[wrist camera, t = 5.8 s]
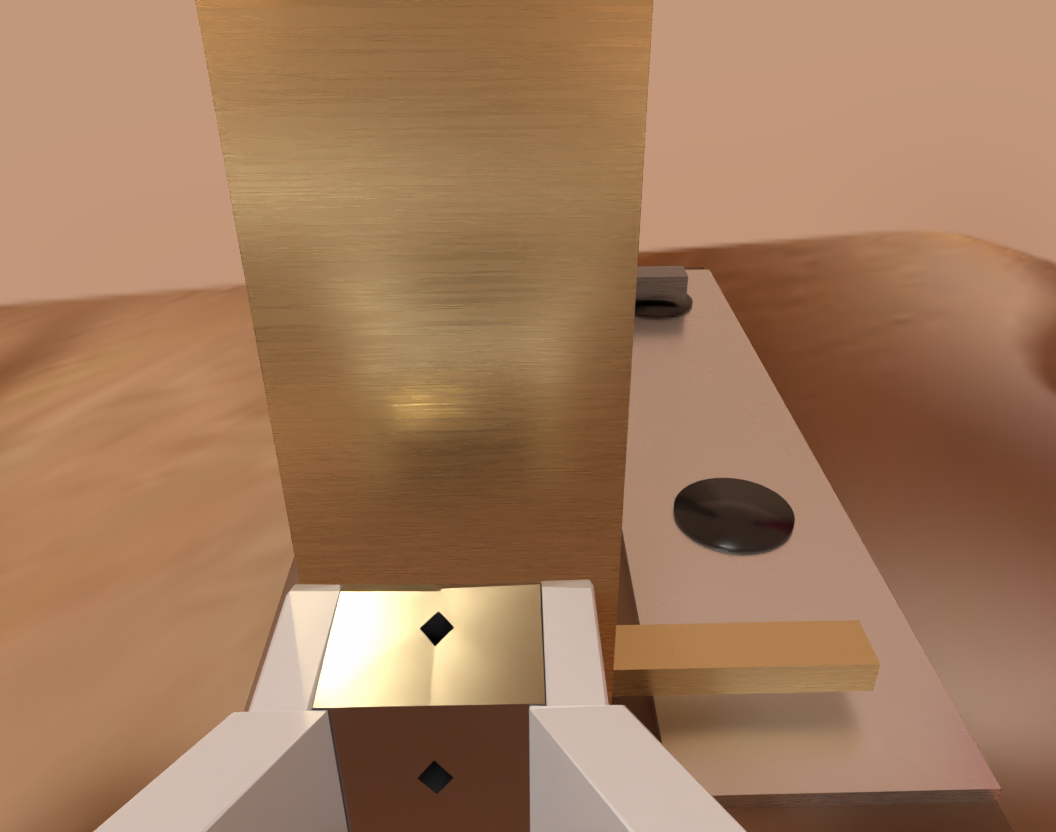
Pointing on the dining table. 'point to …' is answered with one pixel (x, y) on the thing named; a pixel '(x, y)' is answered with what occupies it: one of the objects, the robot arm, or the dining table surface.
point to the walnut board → (789, 828)
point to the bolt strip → (768, 581)
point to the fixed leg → (661, 283)
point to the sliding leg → (464, 305)
